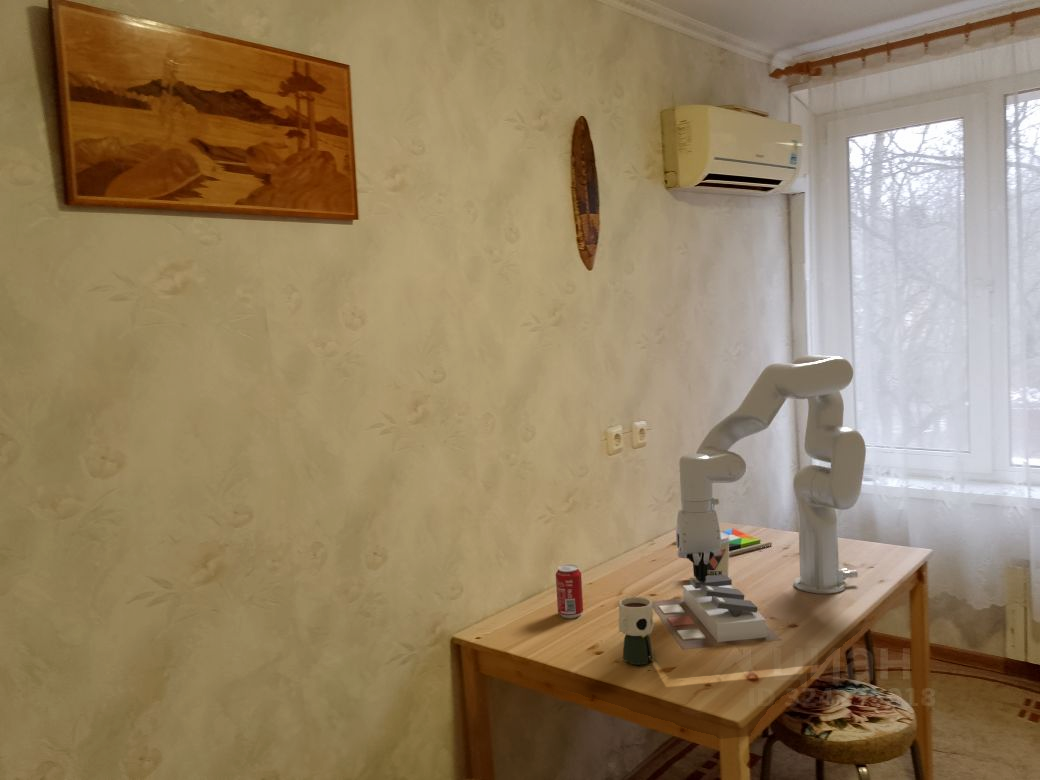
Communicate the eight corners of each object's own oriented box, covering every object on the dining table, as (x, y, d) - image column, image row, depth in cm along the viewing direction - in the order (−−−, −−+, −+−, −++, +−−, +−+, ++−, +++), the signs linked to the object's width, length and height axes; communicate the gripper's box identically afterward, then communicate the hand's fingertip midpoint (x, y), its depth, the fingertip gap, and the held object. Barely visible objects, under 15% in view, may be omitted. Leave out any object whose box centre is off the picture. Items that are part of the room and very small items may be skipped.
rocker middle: (736, 600, 195) (737, 588, 195) (742, 606, 191) (744, 594, 190) (699, 595, 194) (701, 584, 194) (705, 602, 190) (707, 590, 190)
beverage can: (586, 610, 206) (583, 564, 205) (579, 620, 200) (577, 572, 199) (562, 609, 208) (559, 563, 207) (554, 618, 202) (552, 571, 201)
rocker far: (726, 585, 203) (725, 573, 203) (732, 590, 199) (731, 579, 198) (690, 588, 202) (689, 577, 202) (695, 594, 198) (695, 583, 198)
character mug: (635, 674, 169) (632, 613, 168) (608, 665, 174) (605, 605, 173) (667, 657, 176) (664, 598, 175) (640, 648, 181) (637, 591, 180)
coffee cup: (693, 582, 222) (691, 539, 221) (699, 572, 230) (697, 530, 229) (728, 585, 218) (726, 541, 217) (733, 574, 227) (731, 531, 226)
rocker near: (748, 612, 187) (750, 600, 187) (755, 619, 183) (757, 606, 183) (710, 607, 186) (712, 595, 186) (716, 614, 182) (718, 602, 182)
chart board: (733, 598, 208) (733, 592, 208) (781, 645, 179) (781, 638, 179) (648, 606, 207) (648, 600, 207) (682, 654, 177) (682, 647, 177)
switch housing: (726, 597, 206) (726, 581, 206) (766, 637, 180) (766, 619, 180) (683, 601, 205) (683, 585, 205) (717, 641, 179) (717, 624, 179)
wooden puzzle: (730, 559, 242) (730, 547, 242) (688, 545, 259) (688, 534, 258) (774, 547, 250) (773, 536, 250) (730, 535, 267) (729, 524, 266)
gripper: (722, 499, 203) (725, 571, 204) (662, 504, 201) (666, 577, 203) (732, 506, 195) (735, 581, 197) (671, 511, 194) (674, 587, 196)
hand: (700, 579), depth 200 cm, fingers closed
